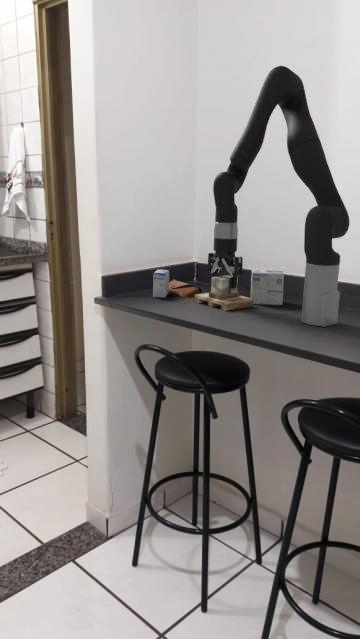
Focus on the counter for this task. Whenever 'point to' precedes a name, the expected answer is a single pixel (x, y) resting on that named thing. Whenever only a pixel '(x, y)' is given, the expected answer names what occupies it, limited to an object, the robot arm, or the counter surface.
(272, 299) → the light bulb box
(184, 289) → the sunglasses case
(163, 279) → the medicine box
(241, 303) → the dock
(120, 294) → the counter surface
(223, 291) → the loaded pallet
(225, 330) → the counter surface
